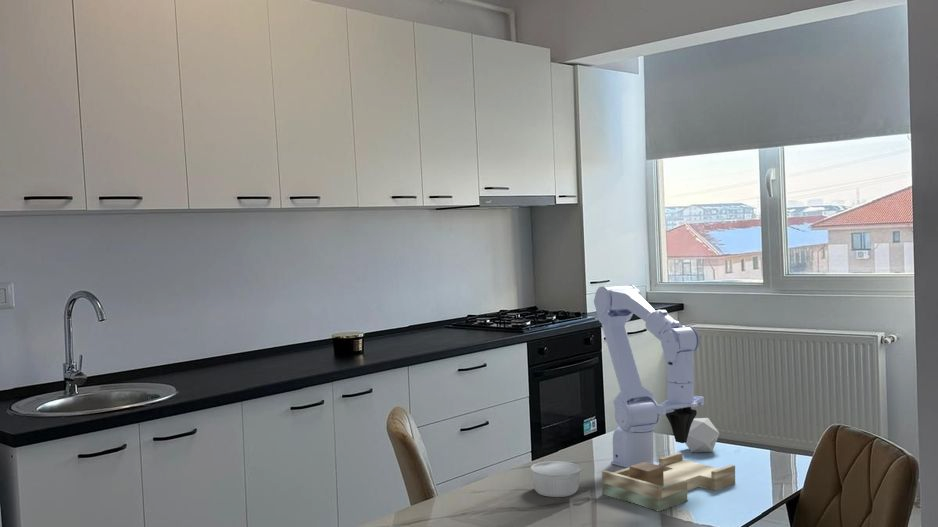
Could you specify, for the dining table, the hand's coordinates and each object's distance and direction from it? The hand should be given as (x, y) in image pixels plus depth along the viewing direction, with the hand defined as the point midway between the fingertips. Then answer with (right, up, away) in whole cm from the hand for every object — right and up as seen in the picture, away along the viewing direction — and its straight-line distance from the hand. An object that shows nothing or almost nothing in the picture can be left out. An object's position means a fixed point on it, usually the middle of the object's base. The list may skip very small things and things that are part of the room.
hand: (680, 441), depth 183 cm
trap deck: (-3, -10, -3) cm, 11 cm away
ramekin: (-28, -10, -3) cm, 30 cm away
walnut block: (-9, -7, -8) cm, 15 cm away
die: (+12, -8, +27) cm, 31 cm away
